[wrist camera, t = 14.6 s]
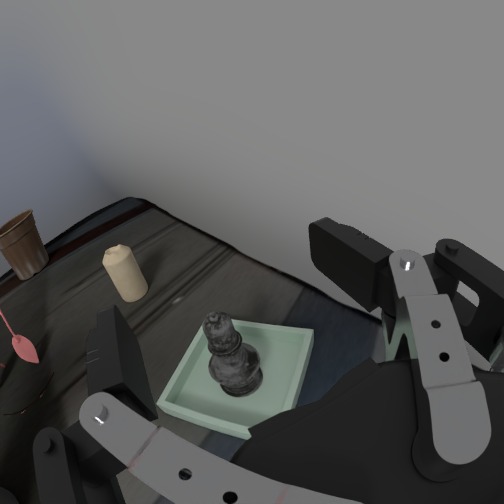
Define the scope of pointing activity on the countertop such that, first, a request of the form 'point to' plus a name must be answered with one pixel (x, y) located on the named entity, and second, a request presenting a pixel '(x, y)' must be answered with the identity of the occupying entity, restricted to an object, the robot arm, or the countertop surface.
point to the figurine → (23, 352)
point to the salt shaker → (231, 357)
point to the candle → (125, 273)
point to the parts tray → (242, 408)
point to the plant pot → (23, 245)
